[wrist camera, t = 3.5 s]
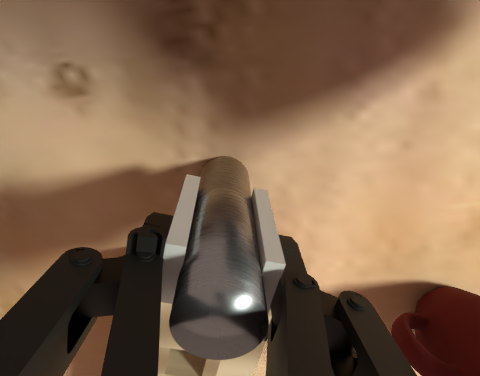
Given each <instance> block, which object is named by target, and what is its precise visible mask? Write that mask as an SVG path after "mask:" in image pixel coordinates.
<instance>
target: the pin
mask: <svg viewBox="0 0 480 376" xmlns="http://www.w3.org/2000/svg"><path fill="white" fill-rule="evenodd" d="M199 177H201V178H200V183H199V188H198V193H197V198H196V203H195V208H194V213H193V218H192V223H191V228H190V233H189V238H188V243H187V248H186V253H185V258H184V263H183V266H182V268H181V270H180V272H179V276H178V280H177V285H176V290H175V294H174V299H173V304H172V308H171V313H170V318H169V328H170V332H171V335H172V337H173V338H174V340H175V341H176V343H177V344H178V345H179V346H180V347H181V348H182V349H184V350H185V351H187V352H189V353H190V354H192V355H195V356H197V357H201V358H204V359H210V360H227V359H233V358H237V357H240V356H243V355H245V354H247V353H249V352H251V351H252V350H254V349H255V348H256V347H257V346H258V345H259V344H260V343H261V342H262V341H263V339H264V338H265V336H266V334H267V331H268V327H269V319H268V311H267V304H266V297H265V290H264V283H263V276H262V271H261V264H260V256H259V249H258V242H257V235H256V228H255V220H254V213H253V206H252V199H251V190H250V183H249V176H248V172H247V170H246V168H245V167H244V165H243V164H242V163H241V162H239V161H238V160H236V159H234V158H231V157H225V156H222V157H216V158H214V159H212V160H210V161H208V162H207V163H206V164H205V165H204V166H203V168H202V170H201V172H200V176H199Z"/></svg>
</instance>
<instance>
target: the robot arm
mask: <svg viewBox="0 0 480 376" xmlns="http://www.w3.org/2000/svg"><path fill="white" fill-rule="evenodd" d="M200 178H201V177H198V176H193V175H188V174H187V175H186V178H185V181H184V185H183V188H182V191H181V194H180V198H179V201H178V204H177V208H176V211H175V214H174V216H171V215H166V214H160V213H155V212H154V213H152V214H151V215H149V216H148V217H147V218H146V220H145V222H144V225H143V227H140V228H136V229H134V230H132V231H130V233H129V235H128V241H127V249H126V255H124V256H121V257H118V258H106V259H102V255H101V253H99V252H98V251H97V250H95V249H92V248H86V247H80V248H74V249H71V250H68V251H66V252H65V253H64V254H62V255H61V256H60V257H59V259H58V260H57V261H56V262H55V263H54V264H53V265H52V266H51V267H50V268H49V269H48V270H47V271H46V272H45V273H44V274H43V275H42V276H41V278H40V279H39V280H38V281H37V282H36V283H35V284H34V285H33V286H32V287H31V288H30V289H29V290H28V291H27V292H26V293H25V294H24V296H23V297H22V298H21V299H20V300H19V301H18V302H17V303H16V304H15V305H14V306H13V307H12V308H11V309H10V310H9V311H8V312H7V314H6V315H5V316H4V317H3V318H2V319H1V320H0V376H63V375H64V373H65V371H66V370H67V368H68V366H69V365H70V363H71V361H72V360H73V358H74V356H75V355H76V353H77V351H78V350H79V348H80V346H81V345H82V343H83V341H84V340H85V338H86V336H87V335H88V333H89V331H90V329H91V328H92V326H93V324H94V323H95V321H96V319H97V317H100V316H109V315H113V320H112V325H111V330H110V335H109V340H108V345H107V350H106V354H105V359H104V364H103V369H102V374H101V376H158V361H159V338H160V315H161V302H163V303H169V304H173V299H174V294H175V290H176V285H177V280H178V276H179V272H180V270H181V268H182V266H183V263H184V258H185V253H186V248H187V243H188V238H189V233H190V228H191V223H192V218H193V213H194V208H195V203H196V198H197V193H198V188H199V183H200ZM251 199H252V206H253V213H254V220H255V228H256V235H257V242H258V249H259V256H260V264H261V271H262V276H263V283H264V290H265V297H266V304H267V311H268V314H269V311H270V308H271V315H272V318H271V321H270V324H269V327H268V331H267V334H266V336H265V338H264V341H265V342H266V341H267V338H268V345H267V365H266V376H417V375H416V373H415V372H414V370H413V369H412V367H411V365H410V364H409V362H408V361H407V359H406V358H405V356H404V354H403V353H402V351H401V350H400V348H399V346H398V345H397V343H396V342H395V340H394V339H393V337H392V335H391V334H390V332H389V331H388V329H387V328H386V326H385V324H384V323H383V321H382V320H381V318H380V317H379V315H378V313H377V312H376V310H375V309H374V307H373V306H372V304H371V303H370V302H369V301H368V300H367V299H366V298H365V297H363V296H362V295H360V294H358V293H356V292H352V291H343V292H341V293H340V295H339V297H338V298H337V297H335V296H332V295H330V294H327V293H325V292H323V291H321V290H319V285H318V283H317V281H316V280H315V279H314V278H313V277H311V276H310V275H308V274H307V271H306V268H305V265H304V262H303V259H302V258H301V253H300V250H299V247H298V244H297V243H296V242H295V241H294V240H293V238H292V237H288V236H283V235H278V231H277V227H276V223H275V219H274V215H273V211H272V207H271V203H270V199H269V195H268V191H267V190H262V189H257V188H254V190H253V193H252V197H251ZM354 349H355V350H354ZM355 351H356V352H355Z"/></svg>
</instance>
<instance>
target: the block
mask: <svg viewBox="0 0 480 376" xmlns="http://www.w3.org/2000/svg"><path fill="white" fill-rule="evenodd" d="M171 308H172V304H169V303H163V302H161V315H160V338H159V361H158V376H253V374H254V372H255V369H256V366H257V363H258V361H259V358H260V355H261V352H262V350H263V347H264V344H265V341H264V339H263V341H262V342H261V343H260V344H259V345H258V346H257V347H256V348H255V349H254V350H252V351H251V352H249V353H247V354H245V355H243V356H240V357H237V358H233V359H227V360H210V359H204V358H201V357H197V356H195V355H192V354H190V353H189V352H187V351H185V350H184V349H182V348H181V347H180V346H179V345H178V344H177V343H176V341H175V340H174V338H173V337H172V335H171V332H170V328H169V318H170V313H171ZM271 318H272V315H271V308H270V311H269V314H268V319H269V324H270V321H271Z"/></svg>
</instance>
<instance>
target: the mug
mask: <svg viewBox="0 0 480 376" xmlns="http://www.w3.org/2000/svg"><path fill="white" fill-rule="evenodd" d="M411 329H415V333H416V337H415V335H414V334H413V332H412V331H411ZM391 333H392V337H393V339H394V340H395V342H396V343H397V345H398V346H399V348H400V350H401V351H402V353H403V354H404V356H405V358H406V359H407V361H408V362H409V364H410V365H411V366H412V367H413V368H414V369H415V370H416V371H417V372H418V373H419V374H420V375H422V376H480V296H479V295H476V294H473V293H470V292H467V291H464V290H461V289H458V288H454V287H441V288H437V289H434V290H432V291H430V292H428V293H427V294H425V295H424V296H423V297H422V298H421V299H420V300H419V302H418V304H417V306H416V310H415V313H404V314H402V315H401V316H399V317H398V318H397V319H396V320H395V322H394V324H393V325H392V332H391Z"/></svg>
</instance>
